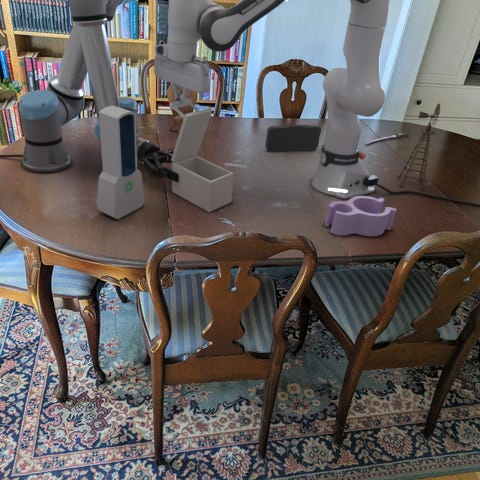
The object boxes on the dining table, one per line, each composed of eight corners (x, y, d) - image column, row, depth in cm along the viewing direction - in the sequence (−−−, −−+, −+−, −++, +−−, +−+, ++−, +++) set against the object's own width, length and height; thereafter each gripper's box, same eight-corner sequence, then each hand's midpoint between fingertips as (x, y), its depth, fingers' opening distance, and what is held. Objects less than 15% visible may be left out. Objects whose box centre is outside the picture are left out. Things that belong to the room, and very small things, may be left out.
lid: (212, 110, 139) (193, 91, 142) (187, 116, 133) (167, 97, 135) (197, 154, 152) (179, 136, 154) (173, 162, 145) (155, 144, 148)
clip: (337, 240, 135) (342, 219, 131) (318, 218, 145) (322, 198, 141) (395, 233, 141) (402, 213, 137) (373, 213, 151) (378, 194, 147)
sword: (404, 132, 222) (404, 130, 221) (409, 135, 220) (410, 132, 219) (360, 144, 206) (361, 142, 205) (366, 147, 204) (366, 144, 203)
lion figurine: (200, 128, 202) (201, 108, 197) (204, 133, 198) (205, 112, 193) (167, 129, 197) (167, 108, 192) (170, 134, 193) (170, 113, 188)
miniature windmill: (423, 190, 169) (451, 109, 153) (399, 186, 170) (425, 105, 154) (420, 180, 177) (446, 101, 161) (397, 176, 178) (421, 97, 162)
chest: (231, 202, 149) (234, 173, 143) (209, 212, 142) (210, 182, 136) (195, 183, 158) (195, 155, 152) (172, 191, 151) (172, 163, 146)
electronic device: (115, 221, 132) (108, 118, 116) (96, 212, 135) (87, 110, 119) (145, 205, 142) (142, 107, 125) (126, 197, 145) (122, 101, 128)
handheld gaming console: (315, 147, 196) (319, 124, 190) (317, 149, 194) (322, 126, 188) (264, 149, 189) (267, 125, 183) (266, 152, 187) (269, 127, 181)
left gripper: (169, 153, 170) (213, 174, 159) (118, 170, 155) (163, 194, 144) (169, 134, 166) (215, 153, 155) (117, 149, 151) (163, 172, 140)
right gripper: (217, 59, 129) (213, 108, 137) (166, 43, 140) (165, 90, 147) (201, 61, 125) (197, 112, 133) (150, 45, 135) (150, 93, 143)
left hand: (190, 173), depth 149 cm, fingers closed on chest, 10 cm apart
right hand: (180, 100), depth 140 cm, fingers closed, pressing on lid
